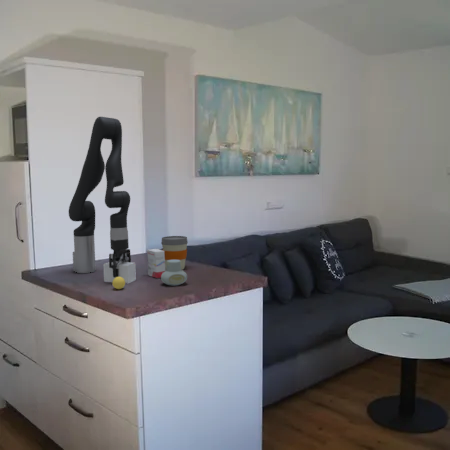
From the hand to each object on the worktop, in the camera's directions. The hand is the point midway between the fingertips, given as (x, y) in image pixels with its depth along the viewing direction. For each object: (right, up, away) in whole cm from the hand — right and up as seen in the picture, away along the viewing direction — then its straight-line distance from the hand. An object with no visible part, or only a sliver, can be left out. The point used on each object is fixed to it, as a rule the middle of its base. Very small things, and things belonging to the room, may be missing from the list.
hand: (120, 275), depth 218 cm
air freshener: (+24, -3, -7) cm, 25 cm away
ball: (+2, -2, -14) cm, 15 cm away
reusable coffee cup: (+21, 0, +26) cm, 33 cm away
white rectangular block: (0, -3, 0) cm, 3 cm away
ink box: (+14, -2, +9) cm, 17 cm away
